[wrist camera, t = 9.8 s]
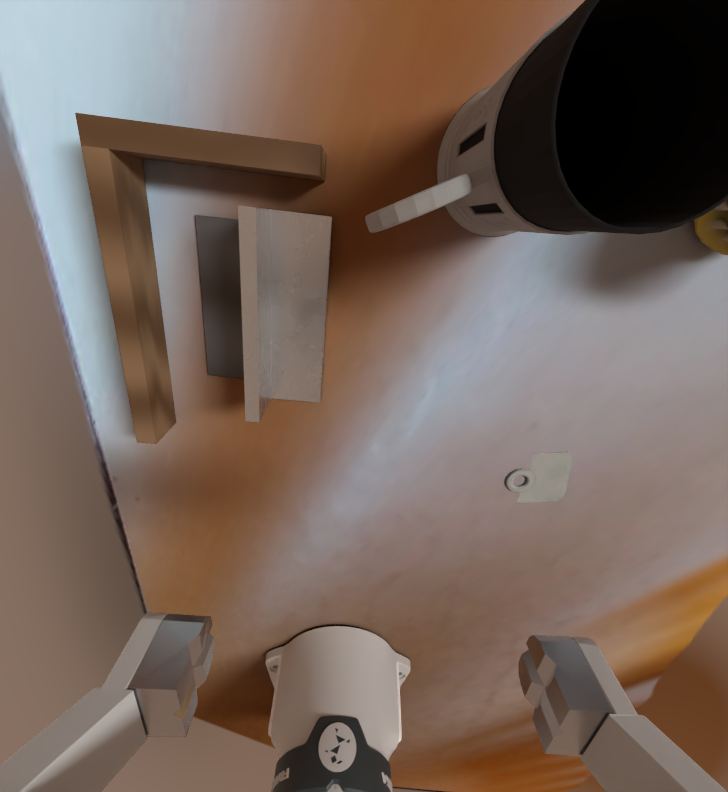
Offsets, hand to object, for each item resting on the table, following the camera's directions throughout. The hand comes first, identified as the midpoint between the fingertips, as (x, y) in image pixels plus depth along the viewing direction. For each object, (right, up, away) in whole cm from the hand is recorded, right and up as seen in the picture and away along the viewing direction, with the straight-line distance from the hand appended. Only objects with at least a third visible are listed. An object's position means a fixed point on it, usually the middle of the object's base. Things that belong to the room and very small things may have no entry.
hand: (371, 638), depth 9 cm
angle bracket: (-6, +13, +19) cm, 23 cm away
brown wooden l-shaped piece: (-11, +12, +19) cm, 25 cm away
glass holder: (+7, +21, +15) cm, 27 cm away
